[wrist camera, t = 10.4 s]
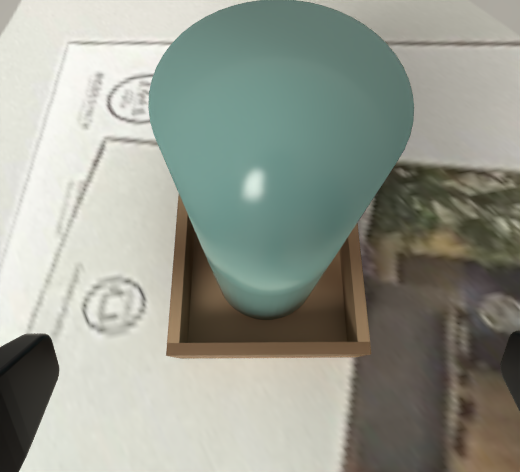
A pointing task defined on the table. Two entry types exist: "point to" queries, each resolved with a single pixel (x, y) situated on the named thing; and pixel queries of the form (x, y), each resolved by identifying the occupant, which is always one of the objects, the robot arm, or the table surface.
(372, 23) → the table surface
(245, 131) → the teal round cylinder
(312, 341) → the walnut tray
